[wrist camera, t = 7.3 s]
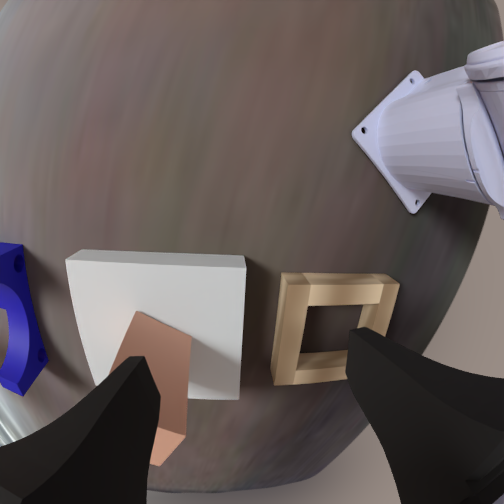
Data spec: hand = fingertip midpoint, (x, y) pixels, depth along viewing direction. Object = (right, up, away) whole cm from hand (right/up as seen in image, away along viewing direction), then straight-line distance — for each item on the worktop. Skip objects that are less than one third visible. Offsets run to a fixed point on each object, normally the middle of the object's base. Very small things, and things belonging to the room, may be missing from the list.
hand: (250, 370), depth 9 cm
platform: (-7, -1, +11) cm, 13 cm away
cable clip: (-22, -1, +10) cm, 24 cm away
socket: (+6, -2, +12) cm, 13 cm away
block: (-7, -2, +8) cm, 11 cm away
